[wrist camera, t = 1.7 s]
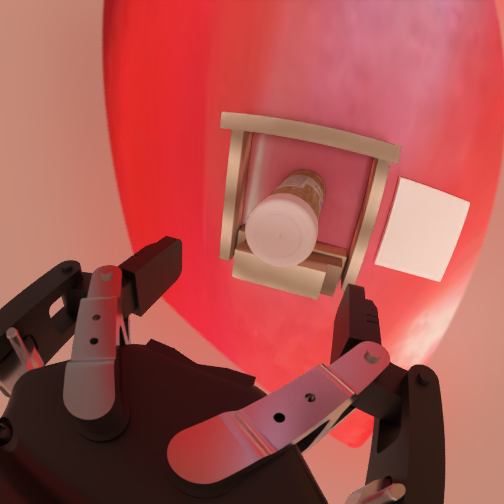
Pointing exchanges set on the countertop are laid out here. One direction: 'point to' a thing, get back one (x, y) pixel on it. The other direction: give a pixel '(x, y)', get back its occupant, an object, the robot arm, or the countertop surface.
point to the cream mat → (421, 230)
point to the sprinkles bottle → (287, 220)
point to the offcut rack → (323, 256)
